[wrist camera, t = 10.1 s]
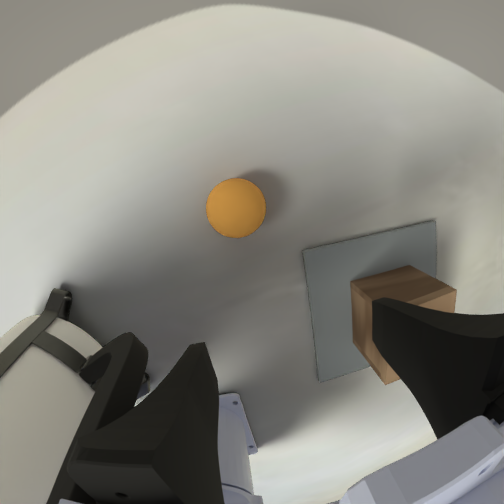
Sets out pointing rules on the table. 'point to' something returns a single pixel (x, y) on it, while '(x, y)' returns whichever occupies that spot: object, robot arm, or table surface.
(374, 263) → the slate mat
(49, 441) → the coffee press
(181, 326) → the table surface
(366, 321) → the wooden grain cube
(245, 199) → the orange ball
